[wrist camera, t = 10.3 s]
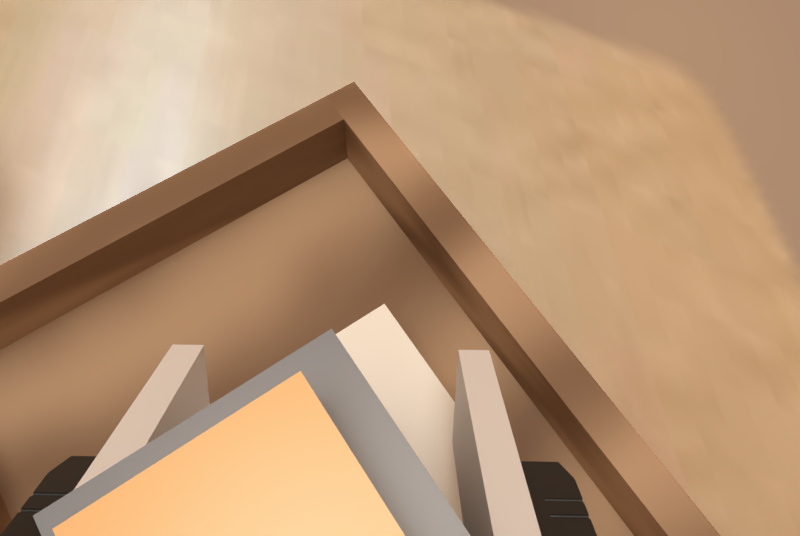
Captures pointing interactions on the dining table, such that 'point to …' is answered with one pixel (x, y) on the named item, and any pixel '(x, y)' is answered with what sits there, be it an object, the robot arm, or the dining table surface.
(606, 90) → the dining table surface
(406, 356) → the socket
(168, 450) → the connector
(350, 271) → the brown wooden tray
